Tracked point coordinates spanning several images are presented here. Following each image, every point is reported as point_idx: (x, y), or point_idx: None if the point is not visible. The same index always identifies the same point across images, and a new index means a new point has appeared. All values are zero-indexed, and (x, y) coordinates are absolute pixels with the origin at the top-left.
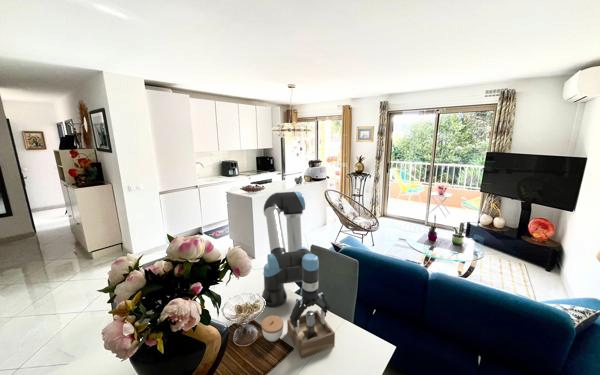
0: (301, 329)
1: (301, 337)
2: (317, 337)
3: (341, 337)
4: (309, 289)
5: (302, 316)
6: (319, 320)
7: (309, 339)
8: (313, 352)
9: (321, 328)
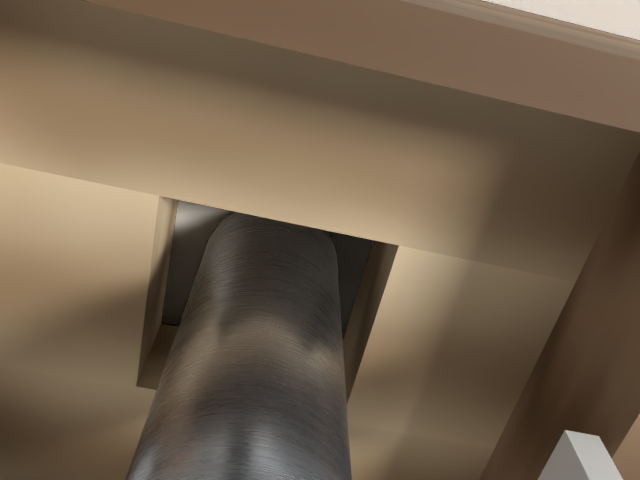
0: (173, 146)
1: (67, 296)
2: None
3: None
4: None
5: (297, 38)
6: (624, 259)
7: None
8: None
9: (504, 350)
